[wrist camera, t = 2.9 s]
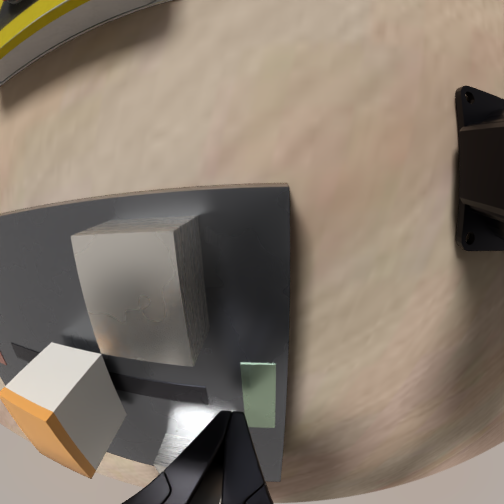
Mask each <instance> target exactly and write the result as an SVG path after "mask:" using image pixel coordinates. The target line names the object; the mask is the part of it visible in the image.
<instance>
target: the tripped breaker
mask: <svg viewBox="0 0 504 504" xmlns="http://www.w3.org/2000/svg"><path fill="white" fill-rule="evenodd" d="M0 399H1V400H2V402H3V403H4V405H5V406H6V408H7V410H8V411H9V413H10V414H11V415H12V417H13V418H14V420H15V421H16V423H17V424H18V425H19V427H20V428H21V429H22V431H23V432H24V433H25V435H26V436H27V437H28V439H29V440H30V441H31V442H32V444H33V445H34V446H35V447H36V449H37V450H38V451H39V452H40V453H41V454H43V455H45V456H46V457H48V458H50V459H52V460H53V461H55V462H57V463H59V464H61V465H63V466H65V467H67V468H69V469H71V470H73V471H75V472H77V473H80V474H81V475H83V476H86V477H88V478H90V479H92V477H93V475H94V473H95V471H96V470H97V468H98V466H99V464H100V462H101V460H102V459H103V457H104V455H105V453H106V451H107V450H108V448H109V446H110V444H111V442H112V441H113V439H114V437H115V435H116V433H117V432H118V430H119V428H120V426H121V425H122V423H123V421H124V419H125V418H126V416H127V414H126V412H125V410H124V408H123V405H122V403H121V401H120V399H119V397H118V394H117V392H116V390H115V387H114V385H113V383H112V380H111V378H110V375H109V373H108V370H107V368H106V365H105V362H104V360H103V357H102V354H99V353H94V352H89V351H85V350H81V349H76V348H72V347H68V346H64V345H60V344H56V343H52V342H51V343H50V344H49V345H48V346H47V347H46V348H45V349H44V350H43V351H42V352H40V353H39V354H38V355H37V356H36V357H35V358H34V359H33V360H32V361H31V362H30V363H29V364H28V365H27V366H26V367H24V368H23V369H22V370H21V371H20V372H19V373H18V374H17V375H16V376H15V377H14V378H13V379H12V380H11V381H10V382H9V383H8V384H7V385H6V386H5V387H4V388H3V389H2V390H1V391H0Z"/></svg>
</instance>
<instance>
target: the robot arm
mask: <svg viewBox="0 0 504 504" xmlns="http://www.w3.org/2000/svg"><path fill="white" fill-rule="evenodd" d="M465 94H466V95H467V97H468V98H469V103H468V101H467V100H466V97H465ZM455 97H456V105H457V114H458V125H459V153H460V185H459V212H458V224H457V233H456V241H457V244H458V245H459V246H460V247H461V248H463V249H464V250H467V251H504V99H501V98H499V97H497V96H494V95H492V94H489V93H486V92H484V91H481V90H478V89H476V88H473V87H470V86H463V87H460V88H458V89H457V90H456V93H455ZM468 233H469V239H468V240H467V242H466V236H467V234H468ZM220 499H221V504H273V501H272V499H271V496H270V493H269V491H268V487H267V485H266V482H265V479H264V476H263V473H262V469H261V466H260V463H259V460H258V457H257V454H256V450H255V447H254V444H253V441H252V437H251V434H250V430H249V427H248V424H247V420H246V417H245V413H244V412H240V411H233V412H232V411H226V410H221V411H219V412H218V414H217V415H216V416H215V417H214V418H213V419H212V420H211V421H210V422H209V424H208V425H207V426H206V427H205V428H204V429H203V430H202V431H201V432H200V433H199V434H198V436H197V437H196V438H195V439H194V440H193V441H192V442H191V443H190V444H189V445H188V446H187V447H186V448H185V449H184V450H183V451H182V452H181V453H180V454H179V456H178V457H177V458H176V459H175V460H174V461H173V462H172V463H171V464H170V465H169V466H168V467H167V468H166V469H165V470H164V471H163V472H161V473H160V474H159V475H158V476H157V477H156V478H155V479H154V480H153V481H152V482H151V483H150V484H148V485H147V486H146V487H145V488H143V489H142V490H141V491H139V492H138V493H137V494H135V495H134V496H132V497H131V498H129V499H128V500H126V501H125V502H123V503H122V504H219V502H220Z"/></svg>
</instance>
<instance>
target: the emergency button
mask: <svg viewBox="0 0 504 504" xmlns="http://www.w3.org/2000/svg"><path fill="white" fill-rule="evenodd" d="M168 1H172V0H0V86H1V85H3V84H4V83H5V82H6V81H8V80H9V79H10V78H12V77H13V76H14V75H16V74H17V73H18V72H20V71H21V70H23V69H24V68H26V67H27V66H28V65H30V64H31V63H33V62H34V61H36V60H38V59H39V58H41V57H42V56H44V55H45V54H47V53H49V52H50V51H52V50H54V49H55V48H57V47H59V46H61V45H63V44H64V43H66V42H68V41H70V40H72V39H74V38H76V37H78V36H79V35H81V34H83V33H86V32H88V31H90V30H92V29H94V28H96V27H98V26H101V25H103V24H105V23H108V22H110V21H112V20H115V19H117V18H120V17H122V16H125V15H128V14H130V13H133V12H136V11H139V10H142V9H145V8H148V7H151V6H154V5H157V4H161V3H164V2H168Z"/></svg>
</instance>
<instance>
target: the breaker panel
mask: <svg viewBox="0 0 504 504" xmlns="http://www.w3.org/2000/svg"><path fill="white" fill-rule="evenodd" d="M289 312H290V197H289V185H288V183H259V184H232V185H213V186H197V187H183V188H171V189H160V190H149V191H139V192H130V193H122V194H113V195H105V196H98V197H91V198H84V199H77V200H71V201H64V202H58V203H52V204H47V205H41V206H36V207H30V208H25V209H20V210H15V211H11V212H6V213H1V214H0V377H1V379H2V380H3V382H4V384H5V386H6V385H7V384H8V383H9V382H10V381H11V380H12V379H13V378H14V377H15V376H16V375H17V374H18V373H19V372H20V371H21V370H22V369H23V368H24V367H26V366H27V365H28V364H29V363H30V362H31V361H32V360H33V359H34V358H35V357H36V356H37V355H38V354H39V353H40V352H42V351H43V350H44V349H45V348H46V347H47V346H48V345H49V344H50V343H51V342H52V343H56V344H60V345H64V346H68V347H72V348H76V349H81V350H85V351H89V352H94V353H99V354H102V357H103V360H104V362H105V365H106V368H107V370H108V373H109V375H110V378H111V380H112V383H113V385H114V387H115V390H116V392H117V394H118V397H119V399H120V401H121V403H122V405H123V408H124V410H125V412H126V414H127V416H126V418H125V419H124V421H123V423H122V425H121V426H120V428H119V430H118V432H117V433H116V435H115V437H114V439H113V441H112V442H111V444H110V446H109V448H108V450H107V451H106V452H109V453H111V454H114V455H117V456H121V457H124V458H127V459H130V460H134V461H137V462H141V463H144V464H148V465H152V466H155V467H156V469H157V471H158V472H159V474H160V473H161V472H163V471H164V470H165V469H166V468H167V467H168V466H169V465H170V464H171V463H172V462H173V461H174V460H175V459H176V458H177V457H178V456H179V454H180V453H181V452H182V451H183V450H184V449H185V448H186V447H187V446H188V445H189V444H190V443H191V442H192V441H193V440H194V439H195V438H196V437H197V436H198V434H199V433H200V432H201V431H202V430H203V429H204V428H205V427H206V426H207V425H208V424H209V422H210V421H211V420H212V419H213V418H214V417H215V416H216V415H217V414H218V412H219V411H221V410H226V411H232V412H233V411H240V412H244V413H245V417H246V420H247V424H248V427H249V430H250V434H251V437H252V441H253V444H254V447H255V450H256V454H257V457H258V460H259V463H260V466H261V469H262V473H263V476H264V479H265V481H271V482H280V481H281V469H282V457H283V444H284V430H285V414H286V396H287V375H288V349H289ZM220 502H221V499H220Z"/></svg>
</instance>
